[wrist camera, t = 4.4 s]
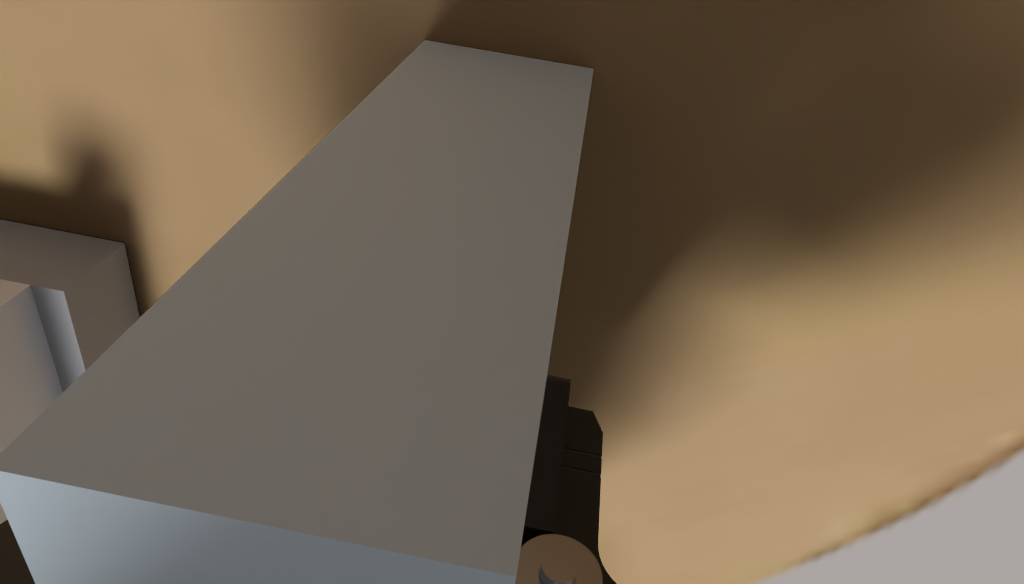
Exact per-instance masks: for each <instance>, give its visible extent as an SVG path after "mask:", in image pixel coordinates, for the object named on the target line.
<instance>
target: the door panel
mask: <svg viewBox="0 0 1024 584" xmlns="http://www.w3.org/2000/svg"><path fill="white" fill-rule="evenodd" d="M593 71H594V69H593V68H587V67H581V66H575V65H569V64H563V63H557V62H552V61H546V60H540V59H534V58H528V57H522V56H516V55H510V54H504V53H499V52H493V51H487V50H481V49H475V48H469V47H463V46H457V45H451V44H446V43H440V42H434V41H428V40H424V41H423V42H422V43H421V44H420V45H419V46H418V47H417V48H416V49H415V50H414V51H413V52H412V53H411V54H410V55H409V56H408V57H407V58H406V59H405V60H404V61H402V62H401V63H400V64H399V65H398V66H397V67H396V68H395V69H394V70H393V71H392V72H391V73H390V74H389V75H388V76H387V77H386V78H385V79H384V80H383V81H382V82H381V83H380V84H379V85H378V86H377V87H376V88H375V89H374V90H373V91H372V92H371V93H370V94H369V95H368V96H367V97H366V98H365V99H364V100H362V101H361V102H360V103H359V104H358V105H357V106H356V107H355V108H354V109H353V110H352V111H351V112H350V113H349V114H348V115H347V116H346V117H345V118H344V119H343V120H342V121H341V122H340V123H339V124H338V125H337V126H336V127H335V128H334V129H333V130H332V131H331V132H330V133H329V134H328V135H327V136H326V137H325V138H324V139H322V140H321V141H320V142H319V143H318V144H317V145H316V146H315V147H314V148H313V149H312V150H311V151H310V152H309V153H308V154H307V155H306V156H305V157H304V158H303V159H302V160H301V161H300V162H299V163H298V164H297V165H296V166H295V167H294V168H293V169H292V170H291V171H290V172H289V173H288V174H287V175H286V176H285V177H284V178H282V179H281V180H280V181H279V182H278V183H277V184H276V185H275V186H274V187H273V188H272V189H271V190H270V191H269V192H268V193H267V194H266V195H265V196H264V197H263V198H262V199H261V200H260V201H259V202H258V203H257V204H256V205H255V206H254V207H253V208H252V209H251V210H250V211H249V212H248V213H247V214H246V215H245V216H244V217H242V218H241V219H240V220H239V221H238V222H237V223H236V224H235V225H234V226H233V227H232V228H231V229H230V230H229V231H228V232H227V233H226V234H225V235H224V236H223V237H222V238H221V239H220V240H219V241H218V242H217V243H216V244H215V245H214V246H213V247H212V248H211V249H210V250H209V251H208V252H207V253H206V254H205V255H204V256H202V257H201V258H200V259H199V260H198V261H197V262H196V263H195V264H194V265H193V266H192V267H191V268H190V269H189V270H188V271H187V272H186V273H185V274H184V275H183V276H182V277H181V278H180V279H179V280H178V281H177V282H176V283H175V284H174V285H173V286H172V287H171V288H170V289H169V290H168V291H167V292H166V293H165V294H164V295H162V296H161V297H160V298H159V299H158V300H157V301H156V302H155V303H154V304H153V305H152V306H151V307H150V308H149V309H148V310H147V311H146V312H145V313H144V314H143V315H142V316H141V317H140V318H139V319H138V320H137V321H136V322H135V323H134V324H133V325H132V326H131V327H130V328H129V329H128V330H127V331H126V332H125V333H124V334H122V335H121V336H120V337H119V338H118V339H117V340H116V341H115V342H114V343H113V344H112V345H111V346H110V347H109V348H108V349H107V350H106V351H105V352H104V353H103V354H102V355H101V356H100V357H99V358H98V359H97V360H96V361H95V362H94V363H93V364H92V365H91V366H90V367H89V368H88V369H87V370H86V371H85V372H84V373H82V374H81V375H80V376H79V377H78V378H77V379H76V380H75V381H74V382H73V383H72V384H71V385H70V386H69V387H68V388H67V389H66V390H65V391H64V392H63V393H62V394H61V395H60V396H59V397H58V398H57V399H56V400H55V401H54V402H53V403H52V404H51V405H50V406H49V407H48V408H47V409H46V410H45V411H44V412H42V413H41V414H40V415H39V416H38V417H37V418H36V419H35V420H34V421H33V422H32V423H31V424H30V425H29V426H28V427H27V428H26V429H25V430H24V431H23V432H22V433H21V434H20V435H19V436H18V437H17V438H16V439H15V440H14V441H13V442H12V443H11V444H10V445H9V446H8V447H7V448H6V449H5V450H4V451H2V452H1V453H0V503H1V505H2V507H3V510H4V512H5V514H6V517H7V519H8V521H9V524H10V526H11V528H12V531H13V533H14V535H15V538H16V540H17V542H18V545H19V547H20V549H21V552H22V554H23V556H24V559H25V561H26V563H27V566H28V568H29V570H30V573H31V575H32V577H33V580H34V582H35V584H515V581H516V576H517V569H518V563H519V556H520V550H521V543H522V537H523V530H524V523H525V517H526V510H527V504H528V497H529V491H530V484H531V478H532V471H533V464H534V458H535V451H536V445H537V438H538V432H539V425H540V419H541V412H542V405H543V399H544V392H545V386H546V379H547V373H548V366H549V360H550V353H551V346H552V340H553V333H554V327H555V320H556V314H557V307H558V300H559V294H560V287H561V281H562V274H563V268H564V261H565V255H566V248H567V241H568V235H569V228H570V222H571V215H572V209H573V202H574V196H575V189H576V182H577V176H578V169H579V163H580V156H581V150H582V143H583V137H584V130H585V123H586V117H587V110H588V104H589V97H590V91H591V84H592V78H593Z"/></svg>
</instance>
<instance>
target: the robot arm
mask: <svg viewBox="0 0 1024 584" xmlns="http://www.w3.org/2000/svg"><path fill="white" fill-rule="evenodd" d="M569 391H570V379H565V378H560V377H555V376H550V375H547V379H546V386H545V392H544V399H543V405H542V412H541V419H540V425H539V432H538V438H537V445H536V451H535V458H534V464H533V471H532V478H531V484H530V491H529V497H528V504H527V510H526V517H525V523H524V530H523V537H522V543H521V550H520V556H519V563H518V569H517V576H516V581H515V584H616V583H615V582H614V581H613V580H612V578H611V577H610V576H609V574H608V573H607V572H606V570H605V568H604V566H603V564H602V562H601V559H600V556H599V552H598V529H599V507H600V484H601V478H600V475H601V461H602V459H601V456H602V438H603V432H602V430H601V428H600V426H599V424H598V421H597V419H596V417H595V415H594V413H593V411H589V410H584V409H579V408H574V407H568V400H569ZM0 584H35V582H34V580H33V577H32V575H31V573H30V570H29V568H28V566H27V563H26V561H25V559H24V556H23V554H22V552H21V549H20V547H19V545H18V542H17V540H16V538H15V535H14V533H13V531H12V528H11V526H10V524H9V521H8V520H6V521H4V522H3V523H1V524H0Z"/></svg>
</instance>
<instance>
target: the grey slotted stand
mask: <svg viewBox="0 0 1024 584" xmlns="http://www.w3.org/2000/svg"><path fill="white" fill-rule="evenodd" d="M139 318H140V316H139V311H138V307H137V302H136V297H135V292H134V287H133V282H132V278H131V273H130V268H129V263H128V258H127V253H126V248H125V244H124V243H121V242H116V241H110V240H105V239H100V238H95V237H90V236H84V235H79V234H74V233H69V232H64V231H58V230H53V229H48V228H43V227H37V226H32V225H27V224H22V223H17V222H11V221H6V220H1V219H0V453H1V452H2V451H4V450H5V449H6V448H7V447H8V446H9V445H10V444H11V443H12V442H13V441H14V440H15V439H16V438H17V437H18V436H19V435H20V434H21V433H22V432H23V431H24V430H25V429H26V428H27V427H28V426H29V425H30V424H31V423H32V422H33V421H34V420H35V419H36V418H37V417H38V416H39V415H40V414H41V413H42V412H44V411H45V410H46V409H47V408H48V407H49V406H50V405H51V404H52V403H53V402H54V401H55V400H56V399H57V398H58V397H59V396H60V395H61V394H62V393H63V392H64V391H65V390H66V389H67V388H68V387H69V386H70V385H71V384H72V383H73V382H74V381H75V380H76V379H77V378H78V377H79V376H80V375H81V374H82V373H84V372H85V371H86V370H87V369H88V368H89V367H90V366H91V365H92V364H93V363H94V362H95V361H96V360H97V359H98V358H99V357H100V356H101V355H102V354H103V353H104V352H105V351H106V350H107V349H108V348H109V347H110V346H111V345H112V344H113V343H114V342H115V341H116V340H117V339H118V338H119V337H120V336H121V335H122V334H124V333H125V332H126V331H127V330H128V329H129V328H130V327H131V326H132V325H133V324H134V323H135V322H136V321H137V320H138V319H139ZM6 520H8V519H7V517H6V514H5V512H4V510H3V507H2V505H1V503H0V524H1V523H3V522H4V521H6Z"/></svg>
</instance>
